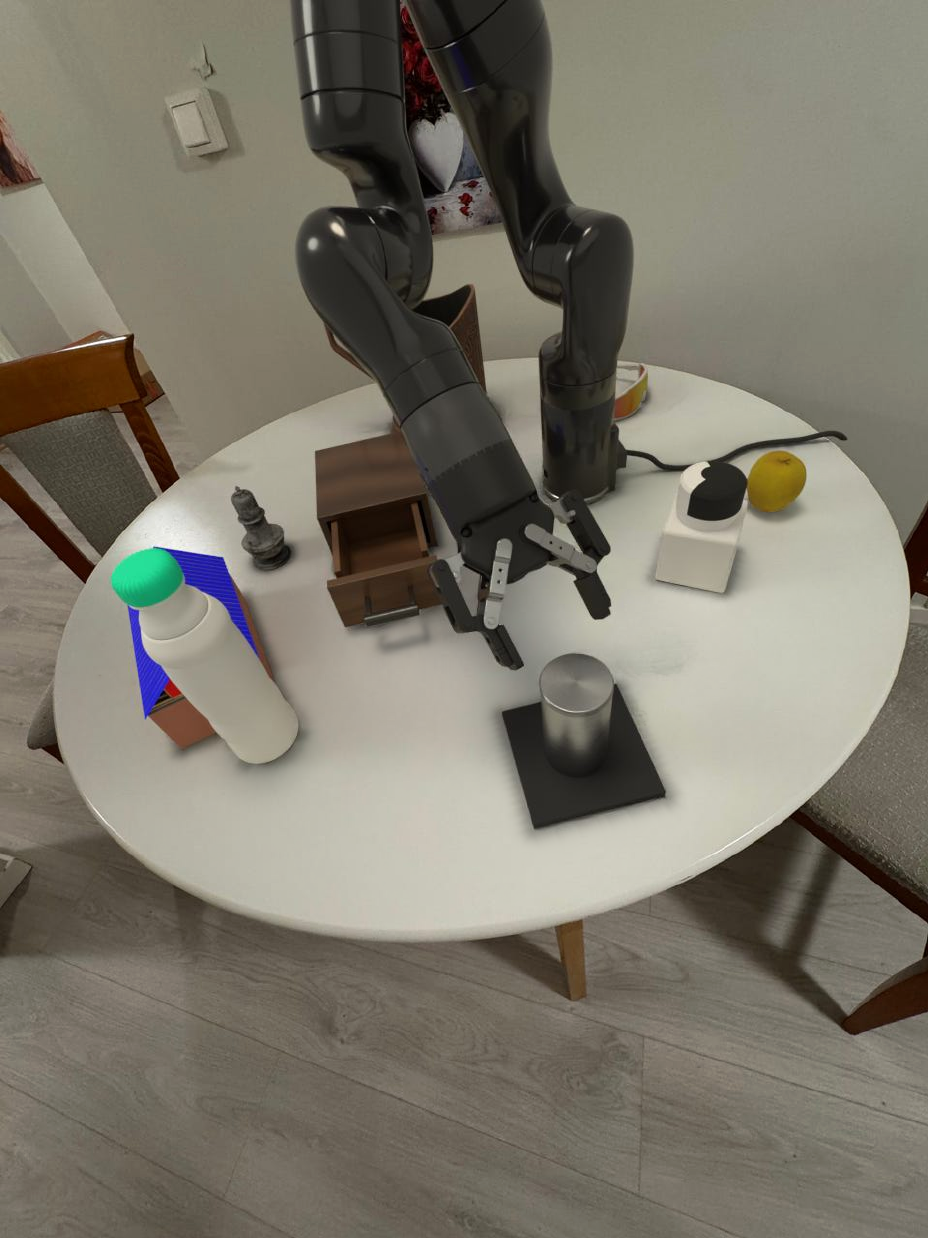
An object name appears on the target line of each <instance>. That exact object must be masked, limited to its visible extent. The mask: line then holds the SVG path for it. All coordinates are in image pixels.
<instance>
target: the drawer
mask: <svg viewBox="0 0 928 1238" xmlns="http://www.w3.org/2000/svg"><path fill="white" fill-rule="evenodd" d="M331 531H332V548H333V556H332V563H333V573H334V575H335V576H334V577H335V578H331V579H328V580H326V589H327V591H328V593H329V595H330V598H331V600H332V602H333V605H334V606H335V609H336V612H337V614H338V616H339V617H340V620H341V622H342V624H343V627H344V628H349V627H353V626H358V625H363V624H365V627H366V628H371V627H377V626H380V625H384V624H388V623H392V622H397V621H400V620H401V621H402V620H405V619H410V618H413V617H418V616H421V612H420V610H427V609H430V608H434V607H438V606H442V604H441V602H440V600H439V598H438V596H437V593H436V591H435V589H434V587H433V585H432V582H431V580H430V578H429V576H428V574H427V568H428V566H429V565H430V564H432V563H434V562H435V561H437V560H439V559H438V556H437V554H434V555H430V550H429V548H428V545H427V541H426V537H425V532H424V528H423V524H422V520H421V516H420V511H419V507H418V503H417V501H415V502H410V503H406V504H402V505H397V506H393V507H389V508H384V509H380V510H376V511H371V512H367V513H363V514H359V515H354V516H350V517H346V518H341V519H337V520H333V521H331Z"/></svg>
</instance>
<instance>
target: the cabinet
mask: <svg viewBox="0 0 928 1238" xmlns="http://www.w3.org/2000/svg"><path fill="white" fill-rule="evenodd" d="M314 467H315V468H314V469H315V470H314V471H315V499H316V500H315V501H316V520H317V522H318V524H319V527H320V530H321V532H322V535H323V537H324V538H325V541H326V544H327V546H328V548H329V551H330V554H331V556H332V557H333V548H332V531H331V521H333V520H337V519H341V518H346V517H350V516H354V515H359V514H363V513H367V512H371V511H376V510H380V509H384V508H389V507H393V506H397V505H402V504H406V503H410V502H415V501H417V503H418V507H419V511H420V516H421V520H422V524H423V528H424V532H425V537H426V541H427V545H428V549H432V548H436V547H439V542H438V538H437V533H436V528H435V525H434V524H435V523H434V520H433V515H432V511H431V507H430V502H429V498H428V497H429V496H428V494H427V489H426V484H425V482H424V481H422V479H421V477H420V475H419V473H418V469H417V467H416V465H415V463H414V461H413V458H412V456H411V454H410V451H409V449H408V446H407V443H406V440H405V438H404V435H403V433H402V431H400V432H395V433H391V434H390V433H387V434H383V435H378V436H374V437H369V438H366V439H361V440H356V441H352V442H347V443H344V444H339V445H335V446H329V447H326V448H321V449H317V450H315V451H314Z"/></svg>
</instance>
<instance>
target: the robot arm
mask: <svg viewBox="0 0 928 1238" xmlns="http://www.w3.org/2000/svg"><path fill="white" fill-rule="evenodd" d="M288 1H289V14H290V15H289V16H290V27H291V34H292V35H291V36H292V44H293V51H294V60H295V61H294V62H295V69H296V78H297V85H298V94H299V101H300V110H301V118H302V127H303V132H304V137H305V140H306V143H307V145H308V146H307V147H308V148H309V150H310V153H312V154H313V155H314V157H316V158H317V159H318V160H319V161H321V162H323V163H325V164H326V165H328V166H329V167H332V168H334V169H336V170H337V171H339V172H341V173H342V174H343V175H344V176H345V178H346V179H347V180H348V183H349V185H350V188H351V190H352V194H353V195H354V196H353V197H354V198H355V202H356V205H357V207H354V206H346V205H327V206H321V207H318V208H316V209H315V210H313V211H311V212H309V214H307V215H306V216H305V217H304V219H303V220H302V221H301V224H300V225H299V228H298V230H297V233H296V238H295V243H294V257H295V266H296V271H297V275H298V279H299V282H300V285H301V287H302V290H303V292H304V295H305V296H306V298H307V300H308V302H309V304H310V305H311V307H312V308H313V310H314V312H315V313H316V315H317V316H318V317H319V319H320V320H321V321H322V323H323V322H324V323H323V325H324V324H325V325H326V326H327V327H328V328H329V329H330V331H331V332H332V333H333V336H334V337H335V338H336V339H337V340H338V341H339V342H340V343H341V344H342V346H343V348H344V349H345V350H346V351H347V352H349V353H350V354H351V355H352V356H353V357H354V358H355V360H356V361H357V362H358V363H359V364H360V365H361V366H362V367H363V368H364V369H365V370H366V371H367V372H368V373H369V374H370V376H371V377H372V378H373V379H374V380H375V383H376V384H377V386H378V388H379V390H380V393H381V394H382V396H383V398H384V400H385V402H386V404H387V405H388V408H389V409H390V411H391V413H392V416H393V415H394V417H395V419H396V421H397V423H398V425H399V427H400V428H401V431H402V433H403V435H404V438H405V440H406V443H407V446H408V449H409V451H410V454H411V456H412V458H413V461H414V463H415V465H416V467H417V469H418V473H419V475H420V477H421V479H422V481H424V485H425V487H426V488H427V489H428V492H429V493H430V495H431V497H432V499H433V501H434V503H435V505H436V506H437V509H438V510H439V512H440V514H441V516H442V519H443V520H444V522H445V523H446V526H447V528H448V529H449V531H450V534H451V535H452V537H453V539H454V540H455V542H456V547H457V548H456V549H457V552H456V554H453V555H451V556H448V557H446V558H445V559H442V558H439V559H438V560H437V561H435V562H434V563H432V564H430V565H429V566H428V568H427V574H428V576H429V578H430V580H431V582H432V585H433V587H434V589H435V591H436V593H437V596H438V598H439V600H440V602H441V604H442V605H441V606H442V608H443V611H444V613H445V615H446V617H447V619H448V622H449V624H450V626H451V629H452V630H453V631H454V632H455V633H456V634H470V633H475V632H476V633H479V634H481V635H482V636H483V639H484V640H485V642H486V644H487V646H488V649H489V650H490V651H491V653H492V656H493V657H494V659H495V661H496V663H497V664H498V665H500V666H501V667H503V668H507V669H509V670H510V671H515V672H518V671H519V670H520V669H522V668H524V667H525V662H524V661H523V659H522V657H521V655H520V653H519V651H518V648H517V647H516V645H515V643H514V641H513V640H512V638H511V636H510V634H509V632H508V630H507V628H506V626H505V624H500V619H501V610H502V604H503V603H502V602H503V601H504V598H505V596H506V588H507V586H509V585H512V584H516V583H517V582H519V581H521V580H523V579H524V578H525V577H526V576H527V575H528V574H530V573H533V572H535V571H538V570H540V569H542V568H544V567H546V566H547V565H548V566H550V567H554V568H558V569H560V570H563V571H564V572H566V573H568V574H570V575H572V576H574V577H575V580H572V581H573V584H574V586H575V588H576V590H577V592H578V595H579V596H580V598H581V599H582V601H583V603H584V605H585V608H586V609H587V613H588V614H589V615H590V617H591V618H592V620H595V621H601V620H605V619H606V618H608V617H610V616H611V615H612V613H611V609H610V607H612V600H611V597H610V595H609V593H608V591H607V589H606V587H605V586H604V583H603V582H602V579H601V577H600V575H599V572H598V566H599V564H600V563H601V561H602V560H603V559H604V558H605V557H606V556H609V555H610V553H611V550H612V548H611V547H612V546H611V545H610V543H609V541H608V539H607V537H606V536H605V534H604V532H603V530H602V529H601V527H600V525H599V524H598V522H597V520H596V518H595V516H594V515H593V513H592V511H591V509H590V508H589V504H593V503H596V502H597V501H599V500H601V499H603V498H604V497H605V496H606V495H607V494H608V493H609V492H614V491H616V483H617V471H618V470H622V469H625V468H626V469H627V461H628V456H629V457H636V458H642V459H644V460H648V461H649V462H651V463H653V465H654V466H656V467H657V468H658V469H660V470H663V471H664V470H665V471H671V472H684V471H685V470H686V469H687V468H689V467H690V466H692V465H694V464H695V463H691V464H682V465H680V464H679V465H675V464H668V463H663V462H662V461H660V460H659V459H658V458H657V457H656V456H654V455H653V454H651V453H648V452H644V451H640V450H633V449H626V448H625V446H624V445H623V442H621V440H620V428H619V426H618V425H617V423H616V422H615V420H614V409H615V397H616V387H617V372H618V368H617V365H618V361H619V359H618V357H619V354H620V350H621V348H622V345H623V343H624V340H625V338H626V337H625V336H626V331H627V326H628V320H629V319H628V317H629V309H630V301H631V293H632V292H631V291H632V284H633V278H634V277H633V275H634V265H635V249H634V248H635V246H634V240H633V235H632V232H631V231H632V230H631V229H630V226H629V224H628V223H627V221H626V220H625V219H623V217H621V216H619V215H618V214H615V213H612V212H608V211H603V210H599V209H594V208H589V207H585V206H580V205H576V203H574V201H573V200H572V198H571V196H570V194H569V193H568V191H567V189H566V187H565V184H564V181H563V180H562V176H561V174H560V171H559V168H558V165H557V162H556V160H555V157H554V153H553V150H552V145H551V141H550V140H551V139H550V111H551V110H550V109H551V102H552V101H551V100H552V99H551V98H552V89H553V69H554V68H553V67H554V66H553V63H554V61H553V45H552V36H551V31H550V26H549V23H548V18H547V15H546V11H545V8H544V5H543V0H402V2H403V3H404V5H405V8H406V11H407V13H408V16H409V17H410V20H411V22H412V25H413V27H414V30H415V31H416V34H417V37H418V39H419V42H420V44H421V45H422V48H423V50H424V52H425V54H426V57H427V59H428V61H429V63H430V65H431V68H432V69H433V72H434V74H435V76H436V78H437V81H438V83H439V84H440V87H441V89H442V91H443V94H444V96H445V97H446V99H447V101H448V103H449V105H450V107H451V109H452V111H453V113H454V115H455V118H457V121H458V124H459V125H460V128H461V130H462V132H463V134H464V137H465V139H466V141H467V143H468V146H469V148H470V150H471V152H472V155H473V157H474V159H475V162H476V163H477V165H478V168H479V169H480V172H481V174H482V176H483V178H484V180H485V183H486V184H487V186H488V188H489V191H490V193H491V196H492V199H493V200H494V203H495V207H496V209H497V211H498V214H499V218H500V220H501V223H502V225H503V229H504V232H505V234H506V237H507V241H508V243H509V246H510V249H511V252H512V253H511V254H512V255H513V258H514V261H515V264H516V267H517V269H518V272H519V274H520V277H521V279H522V282H523V283H524V285H525V287H526V288H527V289H528V290H529V292H530V293H531V294H532V295H533V296H534V298H537V299H538V300H540V301H542V302H544V303H545V304H549V305H551V306H553V307H556V308H559V309H561V310H562V329H561V331H558V332H556V333H554V334H552V335H551V336H549V337H547V338H546V339H544V341H543V342H542V343H541V344H540V347H539V349H538V357H537V358H538V375H539V376H538V382H539V405H540V426H541V427H540V429H541V451H542V465H541V467H542V468H541V474H542V475H541V477H542V478H541V479H542V488H543V492H544V494H545V495H546V497H548V498H549V500H551V501H553V502H552V503H551V504H549V505H547V503H545V502H544V501H543V500H542V499H541V498H540V496H539V493H538V491H537V487H536V484H535V482H534V480H533V478H532V477H531V475H530V472H529V471H528V468H527V467H526V464H525V463H524V461H523V459H522V457H521V454H520V452H519V451H518V449H517V447H516V445H515V443H514V441H513V439H512V437H511V435H510V433H509V431H508V429H507V426H506V425H505V423H504V422H503V419H502V417H501V415H500V414H499V411H498V410H497V408H496V406H495V405H494V404H493V402H492V400H491V399H490V398H489V396H488V394H487V395H486V393H485V392H484V390H483V389H482V387H481V385H480V384H479V381H478V379H477V377H476V375H475V373H474V371H473V369H472V367H471V365H470V363H469V361H468V359H467V357H466V355H465V353H464V351H463V350H462V348H461V346H460V344H459V342H458V340H457V338H456V337H455V335H454V334H453V332H452V331H451V329H450V328H449V327H448V326H447V325H446V324H444V323H443V322H441V321H439V320H435V319H432V318H429V317H426V316H423V315H420V314H418V313H415V312H414V311H412V310H413V309H415V308H416V307H417V306H418V305H419V304H420V303H421V302H422V300H425V297H426V296H427V293H428V290H429V289H430V285H431V280H432V276H433V272H434V271H433V270H434V257H435V256H434V255H435V254H434V241H433V235H432V234H433V233H432V229H431V224H430V219H429V214H428V210H427V206H426V202H425V198H424V194H423V191H422V187H421V182H420V177H419V172H418V169H417V164H416V161H415V157H414V154H413V150H412V148H411V143H410V140H409V136H408V130H407V115H406V113H407V112H406V104H405V103H406V94H405V92H406V90H405V72H404V70H405V69H404V53H403V50H404V49H403V48H404V47H403V34H402V33H403V31H402V13H401V0H288ZM372 378H371V379H372ZM373 379H372V380H373ZM374 380H373V381H374ZM826 437H827V438H828V437H833V438H836V439H838V440H839V441H843V442H844V441H848V437H847V436H846V434H844V433H843V432H840V431H837V430H825V431H824V430H823V431H820V432H815V433H812V434H808V435H803V436H797V437H788V438H787V437H785V438H778V439H777V438H775V439H766V440H761V441H756V442H751V443H748V444H745V445H742V446H739V447H737V448H736V449H734V450H732V451H730V452H729V453H727V454H725V455H722V456H720V457H717V458H714V459H710V460H709V461H720V462H725V463H726V462H727V461H729V460H731V459H733V458H734V457H736V456H738V455H740V454H742V453H744V452H747V451H749V450H753V449H758V448H762V447H768V446H770V447H771V446H779V445H780V446H781V445H791V444H797V443H798V444H800V443H806V442H810V441H814V440H817V439H821V438H826ZM555 519H556V520H557V521H558V523H560V524H562V525H566V527H567V528H568V530H569V532H570V534H571V535H572V537H573V539H574V541H575V542H576V543H577V546H578V548H579V549H580V551H579V550H577V549H576V547H575V546H574V545H573V544H570V543H568V542H567V541H565V540H562V539H561V538H559V537H557V536H555V535H554V528H555ZM462 566H463V567H464V568H466V569H468V570H469V571H471V572H473V573H476V575H479V579H478V586H477V593H476V599H477V605H476V611H475V615H473V614H472V613H471V610H470V609H469V606H468V604H467V601H466V599H465V597H464V595H463V592H462V591H461V589H460V586H459V583H460V582H461V580H462V572H461V569H462Z"/></svg>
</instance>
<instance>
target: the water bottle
mask: <svg viewBox="0 0 928 1238" xmlns="http://www.w3.org/2000/svg"><path fill="white" fill-rule="evenodd" d="M110 585H111V588H112V590H113V591H114V592H115V594H116V595H117V597H118V598H119V599H120V600H121V601H122V602H123V603H125V604H126V605H129V606H130V607H131V608H132V609H135V610H139V623H140V627H141V636H142V643H143V646H144V649H145V651H146V652H147V654H148V655H149V657H150V658H151V659H152V660H153V661H155V662H156V663H157V664H159V665H161V667H162V668H163V670H164V671H165V672H166V674H167V675H168V677H169V678H170V679H171V680H172V682H173V683H174V684H175V685H176V687H177V688H178V689H179V690H180V691H181V692H182V694H183V695H184V696H185V697H186V698H187V699H188V700H189V701H190V703H191V704H192V705H193V706H194V707H195V708H196V709H197V710H198V711H199V712H200V713H201V714H202V715H203V716H205V717H206V718H207V719H208V720H209V722H210V724H211V726H212V727H213V729H214V730H215V731H216V734H217V735H218V736H220V738H222V739H223V740H224V741H225V742H226V744H227V746H228V747H229V748H230V750H231V751H232V752H233V754H235V756H236V757H238V758H239V759H240V760H241V761H244V762H246V763H248V764H252V765H253V764H256V765H257V764H258V765H259V764H264V763H269V762H272V761H274V760H275V759H278V758H279V757H280V756H282V755H283V754H285V753H286V752H287V751H288V750H290V748H291V746H292V745H293V744H294V742H295V740H296V738H297V735H298V732H299V720H298V716H297V715H296V712H295V711H294V709H293V708H292V706H291V705H290V704H289V702H288V701H287V700H286V699H285V698H284V696H283V694H282V692H281V690H280V688H279V687H278V686H277V684H275V683H276V682H275V683H274V682H273V681H272V680H271V679H270V678H269V677H268V674H267V672H266V670H265V668H264V667H263V665H262V663H261V661H260V660H259V658H258V657H257V655H256V653H255V652H254V650H253V649H252V647H251V646H250V644H249V643H248V641H247V640H246V638H245V637H244V636H243V634H242V633H241V632H240V630H239V629H238V628H237V627H236V625H235V624H234V623H233V622H232V621H231V617H230V614H229V612H228V610H227V609H226V607H225V606H224V605H223V604H222V603H221V602H220V601H219V600H217V599H216V598H214V597H212V596H210V595H208V594H206V593H204V592H201V591H200V590H199V589H197V588H195V587H193V586H190V585H187V584H185V577H184V574H183V572H182V570H181V568H180V566H179V564H178V563H177V561H176V560H175V559H174V557H173V556H172V555H171V554H170V553H168V552H167V551H166V550H162V549H157V548H153V547H150V548H145V549H141V550H139V551H136V552H134V553H131V554H130V555H128V556H126V558H122V561H120V562H119V563H118V564H117V565H116V566H115V567H114V568H113V571H112V573H111V575H110Z"/></svg>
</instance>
